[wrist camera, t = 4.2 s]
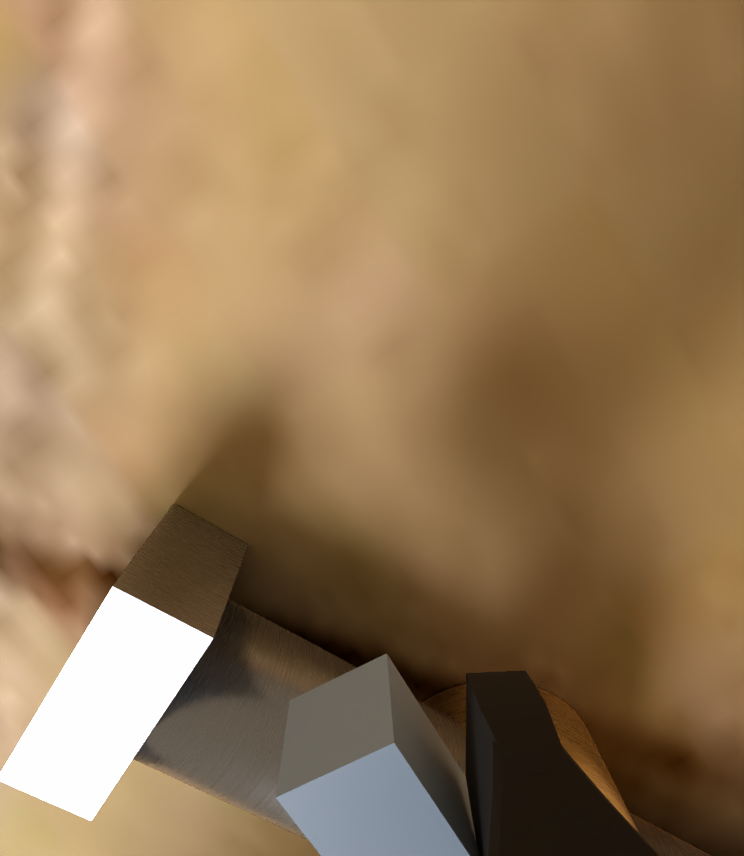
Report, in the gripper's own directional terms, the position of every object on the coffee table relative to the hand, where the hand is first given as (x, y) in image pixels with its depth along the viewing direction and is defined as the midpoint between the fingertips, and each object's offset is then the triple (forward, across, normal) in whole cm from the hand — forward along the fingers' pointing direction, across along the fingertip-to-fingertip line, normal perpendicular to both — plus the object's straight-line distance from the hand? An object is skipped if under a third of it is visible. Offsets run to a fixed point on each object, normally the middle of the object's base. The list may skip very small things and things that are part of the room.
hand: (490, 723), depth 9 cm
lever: (0, 0, +4) cm, 4 cm away
